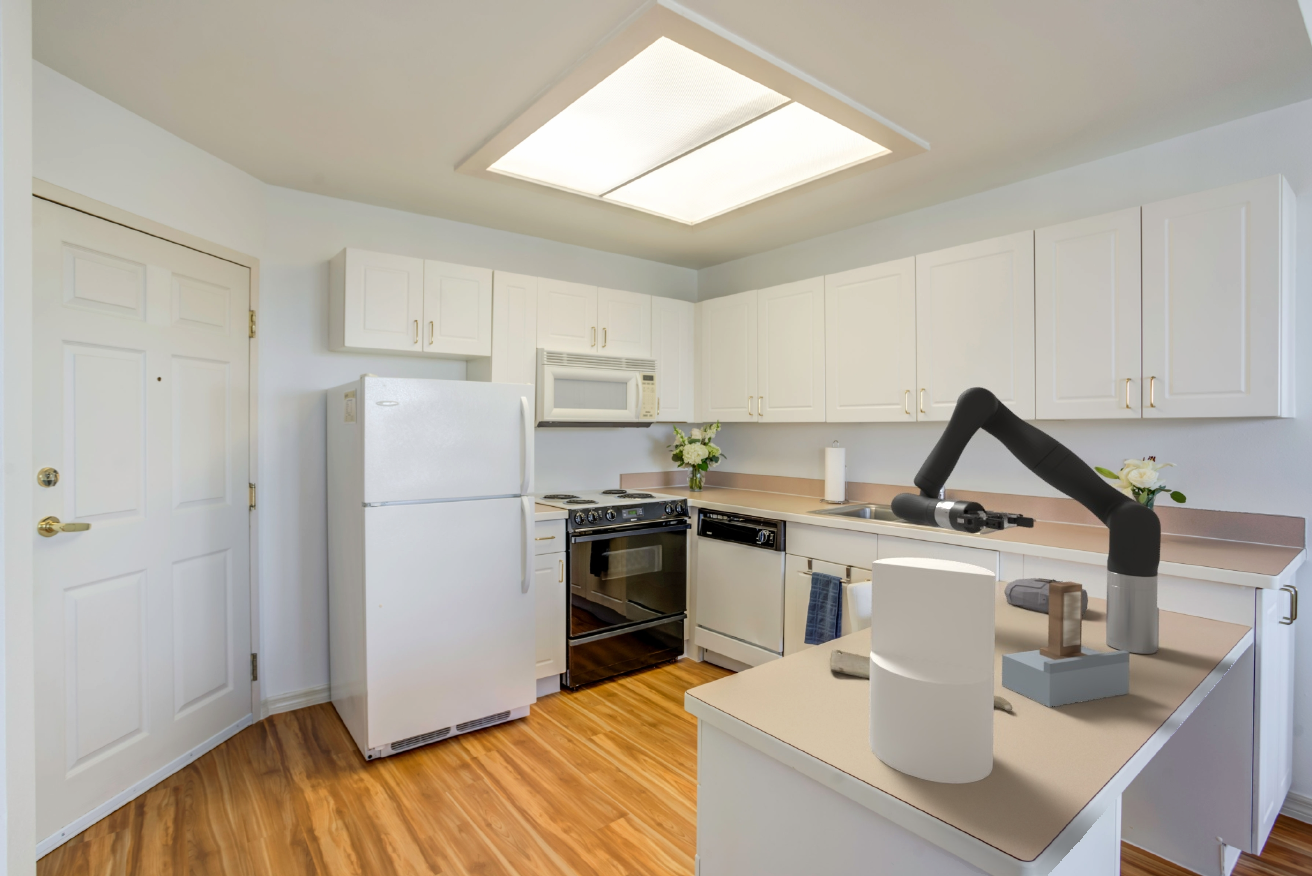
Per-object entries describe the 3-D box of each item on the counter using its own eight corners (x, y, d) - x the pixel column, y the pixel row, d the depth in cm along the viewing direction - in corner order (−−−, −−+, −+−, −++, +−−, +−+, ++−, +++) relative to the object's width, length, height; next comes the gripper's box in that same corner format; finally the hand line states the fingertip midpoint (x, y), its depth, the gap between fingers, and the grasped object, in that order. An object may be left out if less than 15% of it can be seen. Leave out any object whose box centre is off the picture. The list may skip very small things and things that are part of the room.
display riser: (1077, 673, 127) (1078, 635, 127) (1128, 693, 118) (1129, 652, 118) (1001, 685, 121) (1002, 645, 121) (1049, 707, 111) (1049, 663, 111)
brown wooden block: (1060, 651, 123) (1061, 579, 123) (1090, 661, 117) (1091, 586, 117) (1039, 654, 121) (1040, 581, 121) (1068, 665, 116) (1069, 588, 115)
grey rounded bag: (1093, 611, 174) (1014, 596, 189) (1093, 581, 174) (1014, 568, 188) (1077, 621, 164) (995, 605, 178) (1077, 589, 163) (995, 576, 178)
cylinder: (880, 716, 107) (882, 553, 107) (995, 742, 99) (997, 565, 98) (857, 761, 92) (859, 572, 92) (990, 797, 84) (993, 588, 83)
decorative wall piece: (836, 704, 114) (1015, 718, 108) (836, 688, 114) (1015, 701, 108) (824, 648, 144) (964, 656, 138) (823, 635, 144) (964, 642, 138)
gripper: (936, 501, 150) (992, 508, 134) (982, 499, 154) (1042, 505, 139) (936, 532, 150) (993, 543, 134) (982, 529, 154) (1042, 539, 139)
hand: (1017, 524), depth 137 cm, fingers open, 8 cm apart
